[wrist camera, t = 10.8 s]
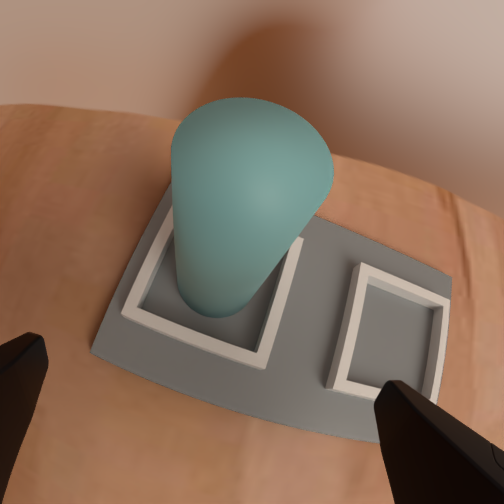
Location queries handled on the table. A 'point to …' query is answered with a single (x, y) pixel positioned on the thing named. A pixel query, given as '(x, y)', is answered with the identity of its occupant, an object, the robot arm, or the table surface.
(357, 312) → the pin board
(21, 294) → the table surface
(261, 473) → the table surface
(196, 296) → the pin
